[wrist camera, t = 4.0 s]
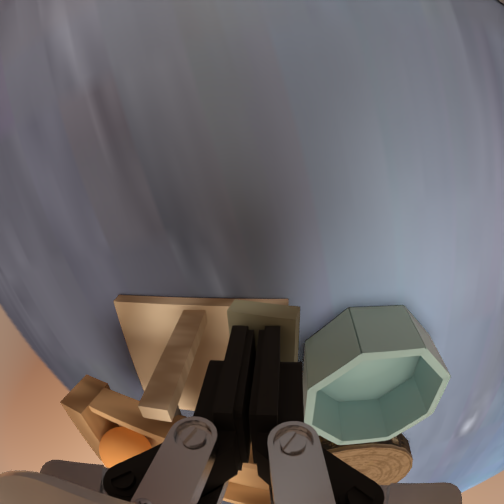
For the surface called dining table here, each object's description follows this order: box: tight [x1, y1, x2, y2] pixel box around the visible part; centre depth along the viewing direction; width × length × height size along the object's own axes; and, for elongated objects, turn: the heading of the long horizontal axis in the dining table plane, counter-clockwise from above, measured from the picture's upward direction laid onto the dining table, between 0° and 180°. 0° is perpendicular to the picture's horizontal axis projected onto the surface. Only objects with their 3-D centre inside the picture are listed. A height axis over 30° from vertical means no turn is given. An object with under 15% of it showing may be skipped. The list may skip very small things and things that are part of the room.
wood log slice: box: [319, 433, 413, 485], centre depth 29 cm, size 16×16×3 cm
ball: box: [99, 427, 152, 468], centre depth 16 cm, size 4×4×4 cm
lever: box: [60, 299, 300, 504], centre depth 15 cm, size 14×16×3 cm
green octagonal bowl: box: [302, 305, 451, 445], centre depth 21 cm, size 10×10×5 cm
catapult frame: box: [114, 295, 288, 422], centre depth 20 cm, size 13×12×10 cm
